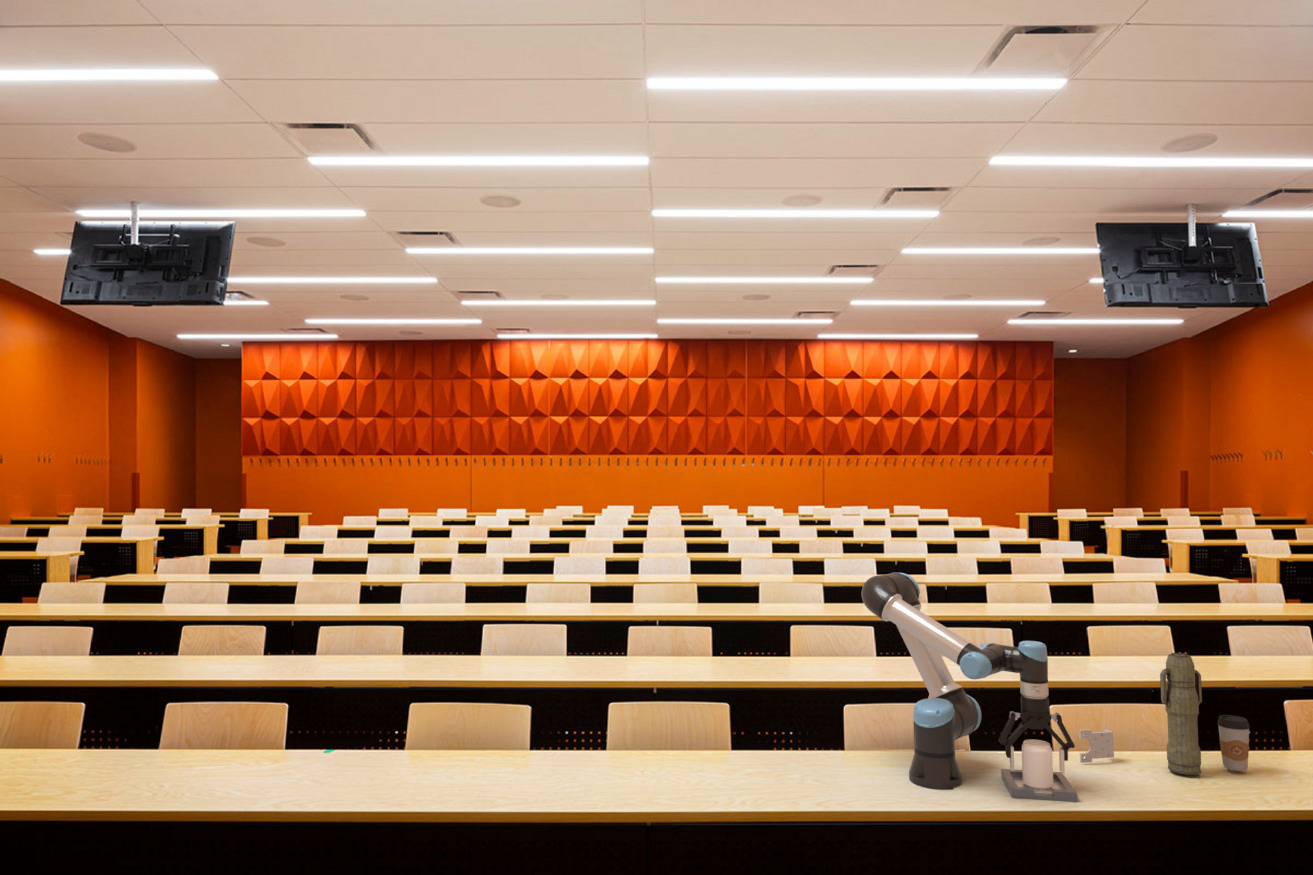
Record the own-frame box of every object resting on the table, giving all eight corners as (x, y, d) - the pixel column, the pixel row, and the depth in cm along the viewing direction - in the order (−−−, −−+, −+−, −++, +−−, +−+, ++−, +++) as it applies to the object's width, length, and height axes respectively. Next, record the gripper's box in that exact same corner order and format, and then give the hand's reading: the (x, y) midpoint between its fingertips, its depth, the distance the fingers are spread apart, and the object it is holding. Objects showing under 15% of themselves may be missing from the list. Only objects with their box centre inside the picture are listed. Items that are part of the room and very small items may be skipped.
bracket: (1105, 756, 277) (1103, 724, 278) (1114, 760, 273) (1112, 728, 274) (1073, 758, 276) (1072, 726, 276) (1081, 762, 272) (1080, 730, 272)
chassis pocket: (1012, 797, 243) (1011, 788, 243) (1001, 777, 259) (1000, 768, 259) (1077, 801, 239) (1076, 792, 239) (1062, 780, 256) (1061, 772, 256)
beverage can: (1053, 782, 251) (1052, 740, 252) (1053, 791, 244) (1051, 748, 244) (1023, 778, 254) (1021, 737, 255) (1022, 787, 247) (1021, 745, 248)
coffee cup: (1222, 770, 263) (1220, 720, 263) (1216, 761, 270) (1214, 713, 271) (1254, 773, 260) (1252, 723, 260) (1247, 764, 267) (1245, 715, 268)
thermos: (1213, 773, 260) (1208, 656, 262) (1177, 775, 258) (1172, 658, 260) (1191, 764, 269) (1186, 650, 270) (1156, 766, 267) (1152, 652, 269)
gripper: (991, 697, 249) (993, 771, 248) (1084, 700, 244) (1087, 777, 243) (987, 691, 257) (989, 763, 256) (1077, 694, 251) (1080, 768, 250)
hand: (1037, 770), depth 249 cm, fingers open, 13 cm apart
